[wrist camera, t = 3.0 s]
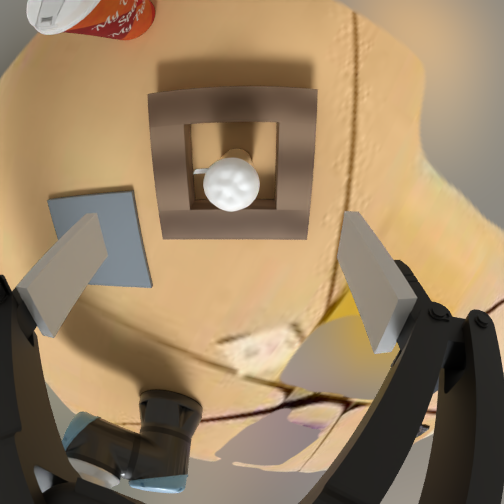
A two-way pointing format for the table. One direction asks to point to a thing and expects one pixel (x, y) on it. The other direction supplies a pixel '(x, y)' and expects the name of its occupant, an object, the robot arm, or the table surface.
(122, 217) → the mat
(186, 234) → the pocket block
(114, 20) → the paper cup
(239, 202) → the milkshake
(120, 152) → the table surface
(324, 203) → the table surface
